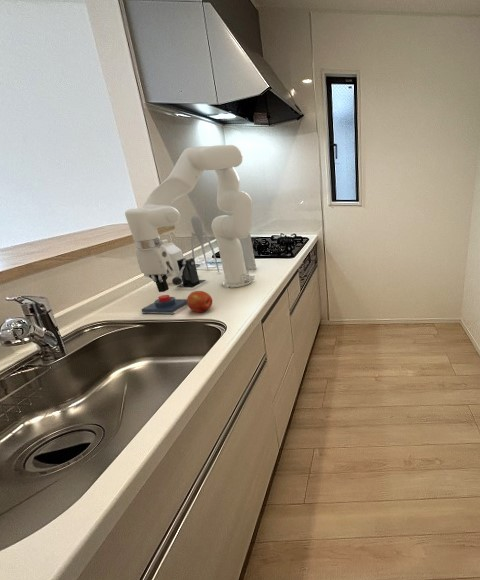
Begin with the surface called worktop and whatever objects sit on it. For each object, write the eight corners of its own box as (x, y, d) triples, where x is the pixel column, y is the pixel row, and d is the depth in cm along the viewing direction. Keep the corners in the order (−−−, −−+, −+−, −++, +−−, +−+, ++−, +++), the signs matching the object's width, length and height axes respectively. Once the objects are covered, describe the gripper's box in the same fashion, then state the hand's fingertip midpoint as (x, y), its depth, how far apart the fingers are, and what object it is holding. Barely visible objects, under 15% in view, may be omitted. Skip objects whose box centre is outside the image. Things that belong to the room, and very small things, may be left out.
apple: (206, 305, 124) (201, 286, 121) (219, 309, 120) (214, 290, 117) (185, 312, 118) (180, 293, 115) (198, 317, 114) (193, 297, 111)
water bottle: (259, 268, 171) (252, 222, 162) (249, 272, 164) (240, 224, 155) (246, 266, 174) (238, 221, 165) (235, 270, 167) (226, 223, 158)
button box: (190, 304, 125) (188, 295, 124) (172, 315, 116) (170, 305, 115) (162, 303, 126) (159, 294, 125) (142, 314, 117) (139, 304, 116)
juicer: (214, 276, 158) (200, 216, 147) (196, 276, 158) (181, 216, 147) (224, 270, 168) (212, 213, 157) (208, 270, 168) (194, 213, 157)
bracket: (193, 289, 141) (186, 262, 136) (176, 289, 142) (169, 262, 137) (206, 282, 150) (200, 256, 146) (191, 282, 151) (184, 256, 146)
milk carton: (189, 280, 153) (180, 242, 147) (179, 285, 147) (168, 245, 140) (176, 279, 154) (166, 242, 147) (165, 284, 148) (154, 245, 141)
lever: (181, 286, 137) (176, 282, 134) (173, 286, 137) (168, 282, 134) (193, 263, 144) (188, 258, 141) (186, 263, 144) (181, 258, 141)
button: (172, 298, 121) (171, 294, 121) (166, 302, 118) (164, 298, 117) (164, 298, 122) (162, 294, 121) (157, 302, 118) (155, 298, 118)
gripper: (175, 241, 115) (189, 287, 122) (137, 241, 116) (153, 287, 123) (160, 246, 108) (175, 294, 115) (120, 246, 109) (137, 294, 116)
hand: (164, 290), depth 119 cm, fingers closed
